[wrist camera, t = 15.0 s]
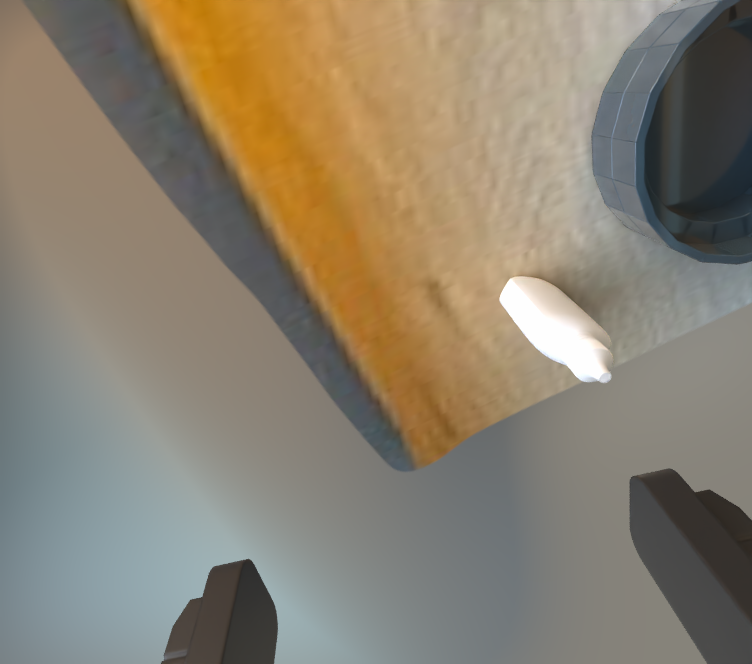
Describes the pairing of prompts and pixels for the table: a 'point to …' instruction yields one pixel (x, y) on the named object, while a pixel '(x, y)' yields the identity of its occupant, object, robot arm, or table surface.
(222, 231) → the table surface
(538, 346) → the eye dropper bottle
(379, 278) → the table surface
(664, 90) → the bowl
